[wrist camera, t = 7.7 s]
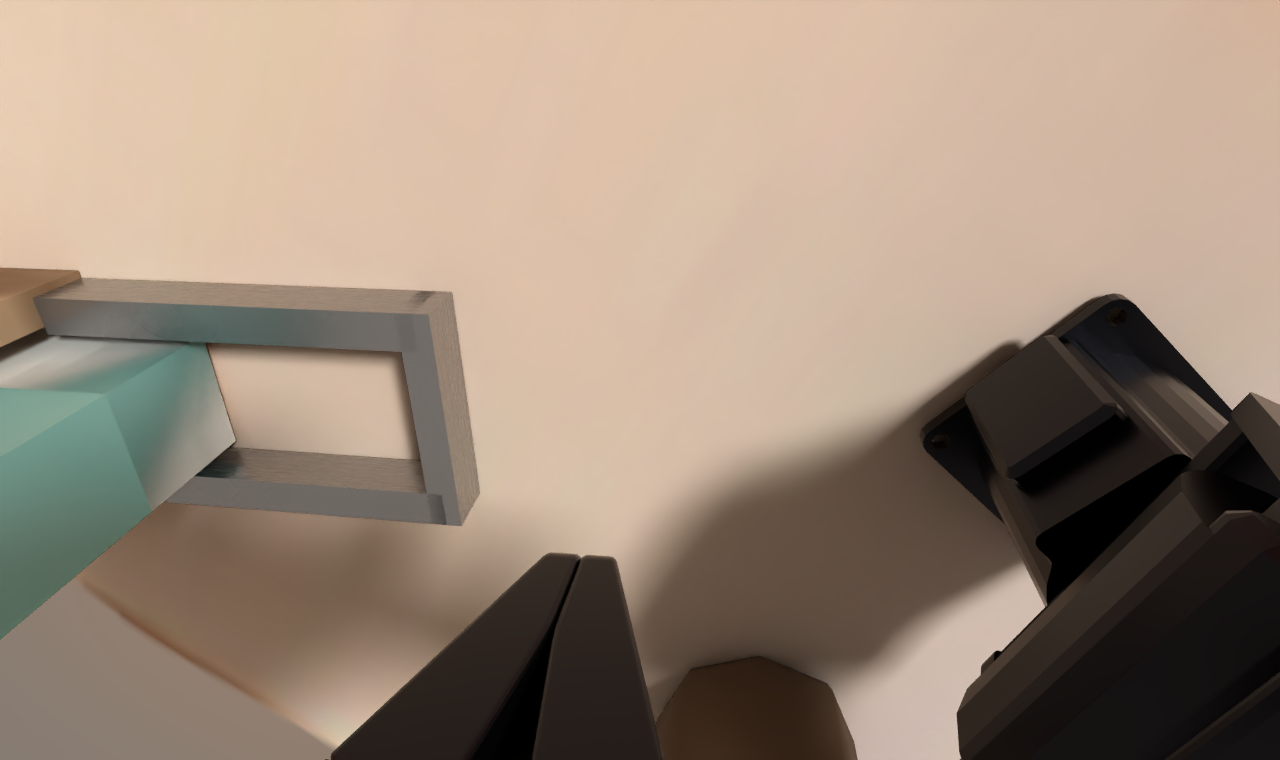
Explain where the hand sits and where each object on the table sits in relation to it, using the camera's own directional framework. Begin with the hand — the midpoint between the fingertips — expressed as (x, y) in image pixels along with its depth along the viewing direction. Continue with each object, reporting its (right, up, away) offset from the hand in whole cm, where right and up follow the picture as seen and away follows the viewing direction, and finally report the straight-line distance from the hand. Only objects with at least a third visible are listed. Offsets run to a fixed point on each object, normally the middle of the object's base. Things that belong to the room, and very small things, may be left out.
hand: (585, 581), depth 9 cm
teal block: (-17, +2, +16) cm, 24 cm away
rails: (-10, +2, +15) cm, 19 cm away
